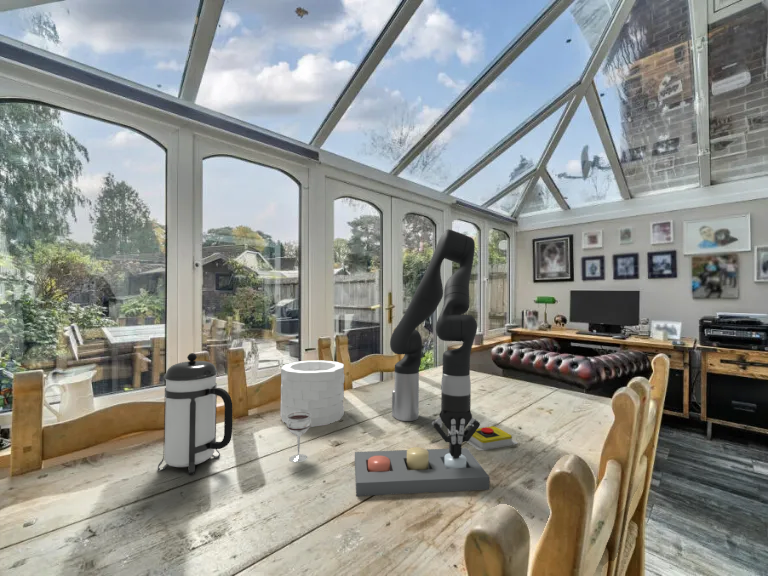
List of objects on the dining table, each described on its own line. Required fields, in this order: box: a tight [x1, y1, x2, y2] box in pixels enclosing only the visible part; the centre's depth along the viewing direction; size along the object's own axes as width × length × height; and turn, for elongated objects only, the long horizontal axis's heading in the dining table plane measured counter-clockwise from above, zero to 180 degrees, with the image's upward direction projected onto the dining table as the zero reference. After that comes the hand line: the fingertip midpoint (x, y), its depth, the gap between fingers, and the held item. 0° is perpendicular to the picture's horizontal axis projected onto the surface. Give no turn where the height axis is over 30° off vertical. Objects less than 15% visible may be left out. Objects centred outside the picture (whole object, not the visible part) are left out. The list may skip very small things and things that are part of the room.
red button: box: [367, 456, 390, 472], centre depth 90 cm, size 6×6×4 cm
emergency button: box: [466, 425, 518, 452], centre depth 113 cm, size 9×4×15 cm
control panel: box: [354, 447, 490, 497], centre depth 91 cm, size 32×16×3 cm, turn 96°
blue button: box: [444, 453, 466, 469], centre depth 92 cm, size 6×6×4 cm
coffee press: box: [157, 353, 234, 476], centre depth 96 cm, size 17×16×30 cm
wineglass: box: [286, 412, 311, 463], centre depth 100 cm, size 7×7×12 cm
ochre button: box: [406, 446, 429, 470], centre depth 91 cm, size 6×6×4 cm
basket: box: [280, 359, 345, 428], centre depth 135 cm, size 25×24×19 cm
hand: (455, 456), depth 92 cm, fingers closed
